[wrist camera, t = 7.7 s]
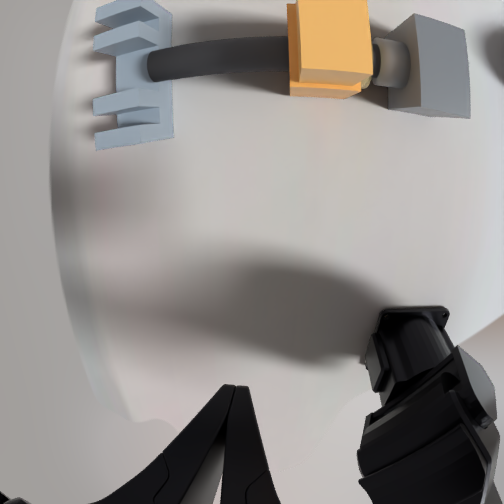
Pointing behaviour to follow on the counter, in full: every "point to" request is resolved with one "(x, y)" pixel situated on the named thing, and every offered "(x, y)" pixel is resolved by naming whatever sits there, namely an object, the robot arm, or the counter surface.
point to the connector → (425, 68)
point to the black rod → (227, 58)
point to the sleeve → (328, 47)
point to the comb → (134, 73)
